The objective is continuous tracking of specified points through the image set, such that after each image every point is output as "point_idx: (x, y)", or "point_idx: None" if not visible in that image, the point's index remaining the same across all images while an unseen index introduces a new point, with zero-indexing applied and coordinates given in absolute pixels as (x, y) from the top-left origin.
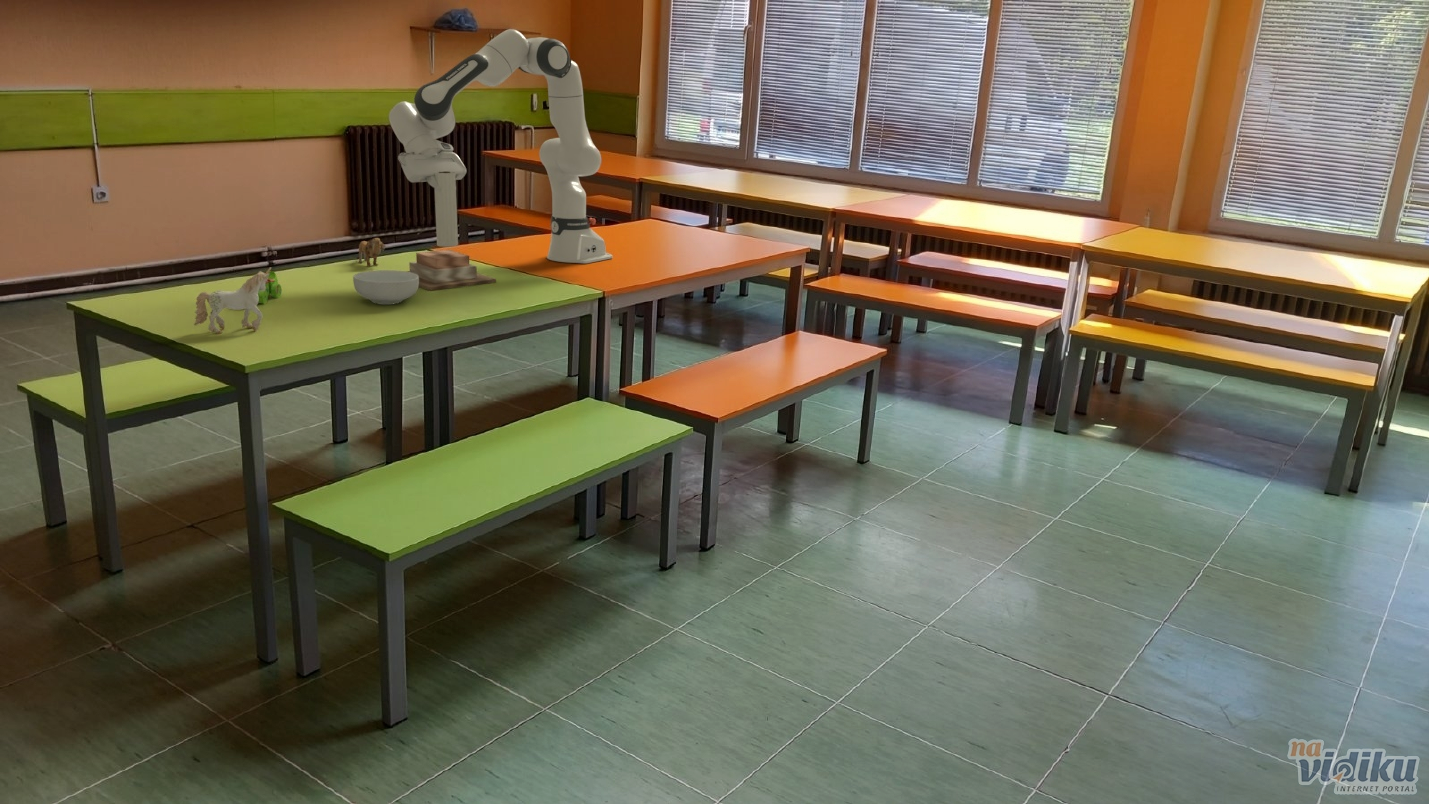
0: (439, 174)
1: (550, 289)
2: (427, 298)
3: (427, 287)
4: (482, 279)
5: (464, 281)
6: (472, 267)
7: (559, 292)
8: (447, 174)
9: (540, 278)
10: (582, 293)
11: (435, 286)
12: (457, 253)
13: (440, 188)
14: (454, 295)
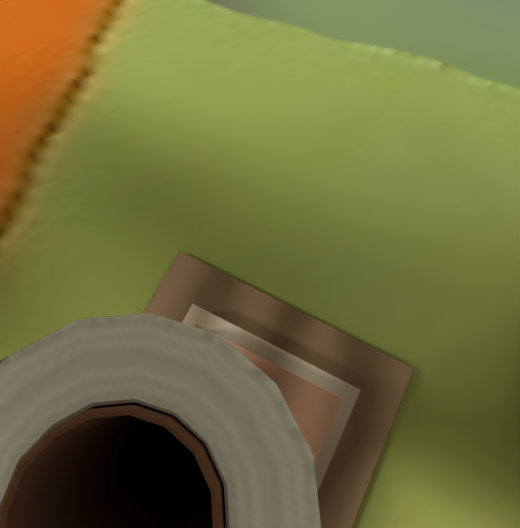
0: (317, 503)
1: (188, 85)
2: (499, 317)
3: (406, 383)
4: (210, 283)
5: (271, 317)
6: (209, 312)
7: (210, 54)
8: (254, 367)
9: (54, 166)
10: (189, 5)
11: (393, 359)
12: None
13: (309, 445)
14: (415, 270)
